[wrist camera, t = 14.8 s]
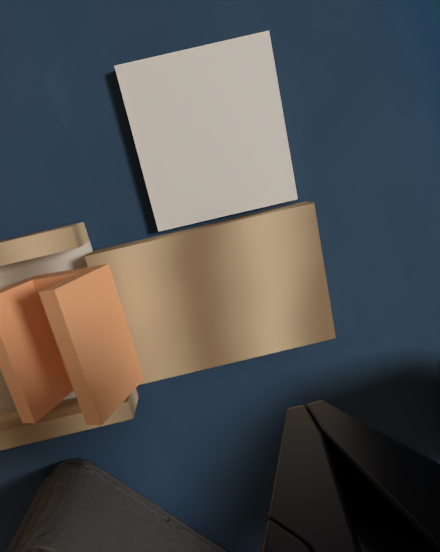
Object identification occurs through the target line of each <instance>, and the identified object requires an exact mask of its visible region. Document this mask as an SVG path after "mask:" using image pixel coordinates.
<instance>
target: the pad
mask: <svg viewBox="0 0 440 552" xmlns="http://www.w3.org/2000/svg"><path fill="white" fill-rule="evenodd" d="M114 67H115V71H116V74H117V78H118V82H119V86H120V90H121V93H122V97H123V101H124V105H125V108H126V112H127V116H128V120H129V123H130V127H131V131H132V135H133V138H134V142H135V146H136V150H137V153H138V157H139V161H140V165H141V169H142V172H143V176H144V180H145V184H146V187H147V191H148V195H149V199H150V202H151V206H152V210H153V214H154V217H155V221H156V225H157V229H158V232H160V231H164V230H168V229H172V228H177V227H181V226H185V225H190V224H194V223H198V222H202V221H207V220H211V219H215V218H220V217H224V216H228V215H232V214H237V213H241V212H245V211H250V210H254V209H258V208H262V207H267V206H271V205H275V204H280V203H284V202H288V201H292V200H297V199H298V198H297V192H296V186H295V180H294V174H293V168H292V163H291V157H290V151H289V145H288V139H287V133H286V127H285V122H284V116H283V110H282V104H281V98H280V92H279V86H278V80H277V75H276V69H275V63H274V57H273V51H272V45H271V39H270V34H269V31H265V32H260V33H256V34H252V35H247V36H243V37H238V38H234V39H230V40H225V41H221V42H217V43H212V44H208V45H203V46H199V47H195V48H190V49H186V50H181V51H177V52H173V53H168V54H164V55H159V56H155V57H151V58H146V59H142V60H138V61H133V62H129V63H124V64H120V65H116V66H114Z"/></svg>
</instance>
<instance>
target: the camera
mask: <svg viewBox="0 0 440 552" xmlns="http://www.w3.org/2000/svg"><path fill="white" fill-rule="evenodd" d="M6 552H227V551H226V550H224V549H223V548H221V547H220V546H218V545H217V544H215V543H214V542H212V541H210V540H209V539H207V538H206V537H204V536H203V535H201V534H200V533H198V532H197V531H195V530H194V529H192V528H191V527H189V526H188V525H186V524H185V523H183V522H182V521H180V520H179V519H177V518H176V517H174V516H172V515H171V514H169V513H168V512H166V511H165V510H163V509H162V508H161V507H159V506H157V505H156V504H154V503H153V502H151V501H150V500H148V499H146V498H145V497H143V496H142V495H140V494H139V493H137V492H136V491H134V490H132V489H131V488H129V487H128V486H127V485H126V484H125V483H123V482H121V481H119V480H117V479H116V478H114V477H113V476H111V475H110V474H108V473H107V472H105V471H104V470H102V469H100V468H99V467H97V466H95V465H94V464H92V463H91V462H89V461H87V460H84V459H69V460H66V461H64V462H61V463H59V464H58V465H57V466H56V467H55V468H54V469H53V471H52V472H51V473H50V474H49V475H48V476H47V477H46V478H45V479H44V481H43V482H42V484H41V485H40V487H39V489H38V491H37V493H36V495H35V497H34V499H33V501H32V503H31V505H30V507H29V509H28V511H27V512H26V514H25V516H24V518H23V520H22V522H21V524H20V526H19V528H18V530H17V532H16V534H15V535H14V537H13V539H12V541H11V543H10V545H9V547H8V549H7V551H6Z"/></svg>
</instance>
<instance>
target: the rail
mask: <svg viewBox="0 0 440 552" xmlns="http://www.w3.org/2000/svg"><path fill="white" fill-rule="evenodd" d="M104 264H109V267H110V270H111V274H112V277H113V280H114V283H115V287H116V290H117V293H118V296H119V300H120V303H121V306H122V309H123V313H124V316H125V319H126V322H127V326H128V329H129V332H130V335H131V339H132V342H133V345H134V348H135V352H136V355H137V358H138V361H139V365H140V368H141V371H142V374H143V378H144V379H143V381H142V382H141V383H140V384H139V385H141V384H145V383H149V382H153V381H157V380H162V379H166V378H170V377H174V376H178V375H183V374H187V373H191V372H195V371H200V370H204V369H208V368H212V367H216V366H221V365H225V364H229V363H233V362H237V361H242V360H246V359H250V358H254V357H258V356H263V355H267V354H271V353H275V352H279V351H284V350H288V349H292V348H296V347H300V346H305V345H309V344H313V343H317V342H321V341H326V340H330V339H334V338H336V336H335V330H334V324H333V318H332V312H331V305H330V299H329V293H328V287H327V280H326V274H325V268H324V262H323V255H322V249H321V243H320V237H319V230H318V224H317V218H316V212H315V206H314V203H311V202H306V201H305V202H300V203H296V204H292V205H288V206H283V207H279V208H275V209H270V210H266V211H262V212H258V213H253V214H249V215H245V216H240V217H236V218H232V219H228V220H223V221H219V222H215V223H210V224H206V225H202V226H198V227H193V228H189V229H185V230H180V231H176V232H172V233H168V234H163V235H159V236H155V237H150V238H146V239H142V240H138V241H133V242H129V243H125V244H120V245H116V246H112V247H108V248H103V249H99V250H95V251H93V250H92V247H91V244H90V240H89V237H88V234H87V231H86V228H85V224H84V222H81V223H76V224H72V225H68V226H63V227H59V228H55V229H50V230H46V231H42V232H37V233H33V234H29V235H25V236H20V237H16V238H12V239H7V240H3V241H0V290H1V289H4V288H6V287H9V286H11V285H14V284H16V283H18V282H21V281H23V280H26V279H28V278H31V277H33V276H36V275H42V274H48V273H54V272H61V271H67V270H73V269H79V268H85V267H91V266H98V265H104ZM138 398H139V397H138V394H137V391H136V388H135V389H134V390H133V392H132V393H131V394H130V395H129V396H128V397H127V398H126V399H125V400H124V401H123V403H122V404H121V405H120V406H119V407H118V408H117V409H116V410H115V411H114V412H113V414H112V415H111V416H110V417H109V418H108V419H107V420H106V421H105V422H104V423H103V425H86V422H85V420H84V417H83V414H82V411H81V408H80V406H79V403H78V400H77V397H76V395H75V392H74V391H72V392H71V393H70V394H69V395H67V396H66V397H65V398H64V399H63V400H62V401H61V402H59V403H58V404H57V405H56V406H55V407H54V408H52V409H51V410H50V411H49V412H48V413H47V414H46V415H44V416H43V417H42V418H41V419H40V420H39V421H38V422H36V423H22V421H21V418H20V416H19V413H18V411H17V409H16V406H15V404H14V401H13V399H12V396H11V394H10V391H9V389H8V387H7V384H6V382H5V379H4V377H3V374H2V372H1V369H0V450H5V449H9V448H13V447H17V446H21V445H25V444H30V443H34V442H38V441H42V440H46V439H51V438H55V437H59V436H63V435H67V434H72V433H76V432H80V431H84V430H88V429H92V428H97V427H101V426H105V425H109V424H113V423H118V422H122V421H126V420H130V419H133V417H134V413H135V410H136V406H137V402H138Z"/></svg>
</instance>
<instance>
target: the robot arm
mask: <svg viewBox="0 0 440 552" xmlns="http://www.w3.org/2000/svg"><path fill="white" fill-rule="evenodd" d="M261 552H440V464H439V463H437V462H436V461H434V460H432V459H430V458H428V457H426V456H425V455H423V454H421V453H419V452H417V451H415V450H414V449H412V448H410V447H408V446H406V445H404V444H403V443H401V442H399V441H397V440H395V439H393V438H392V437H390V436H388V435H386V434H384V433H383V432H381V431H379V430H377V429H375V428H373V427H372V426H370V425H368V424H366V423H364V422H362V421H361V420H359V419H357V418H355V417H353V416H351V415H350V414H348V413H346V412H344V411H342V410H340V409H339V408H337V407H335V406H333V405H331V404H329V403H328V402H326V401H323V400H320V401H316V402H312V403H308V404H307V405H306V406H304V405H300V406H296V407H291V408H288V409H287V412H286V418H285V423H284V429H283V435H282V441H281V446H280V452H279V458H278V464H277V469H276V475H275V481H274V487H273V492H272V498H271V504H270V510H269V515H268V522H267V526H266V531H265V537H264V542H263V547H262V551H261Z"/></svg>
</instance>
